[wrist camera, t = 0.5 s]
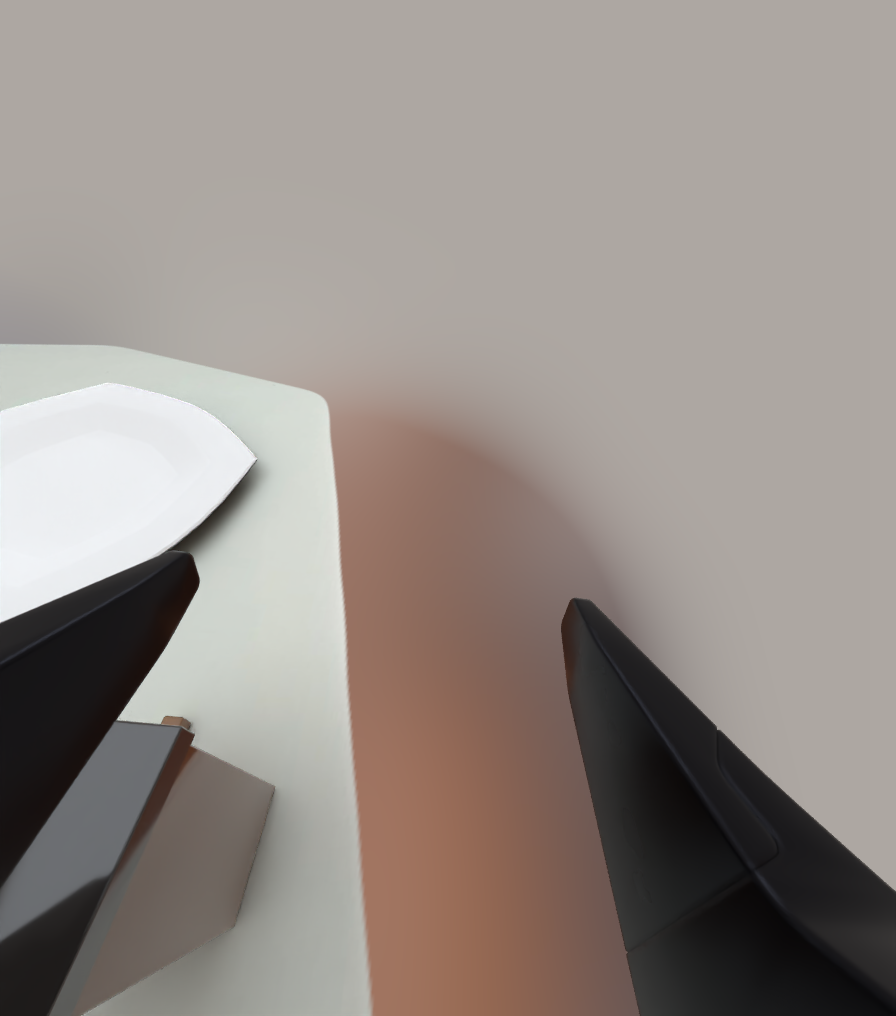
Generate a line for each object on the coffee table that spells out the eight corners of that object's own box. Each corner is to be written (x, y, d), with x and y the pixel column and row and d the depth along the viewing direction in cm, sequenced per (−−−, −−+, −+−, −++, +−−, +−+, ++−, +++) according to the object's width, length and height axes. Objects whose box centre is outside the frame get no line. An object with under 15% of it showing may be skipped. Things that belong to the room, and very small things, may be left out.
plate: (127, 382, 40) (117, 365, 39) (298, 470, 35) (294, 453, 33) (-213, 523, 26) (-250, 504, 24) (-8, 710, 20) (-39, 700, 19)
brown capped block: (236, 935, 16) (20, 1074, 7) (106, 927, 16) (-321, 1060, 6) (281, 781, 20) (182, 725, 10) (175, 772, 20) (-30, 706, 10)
